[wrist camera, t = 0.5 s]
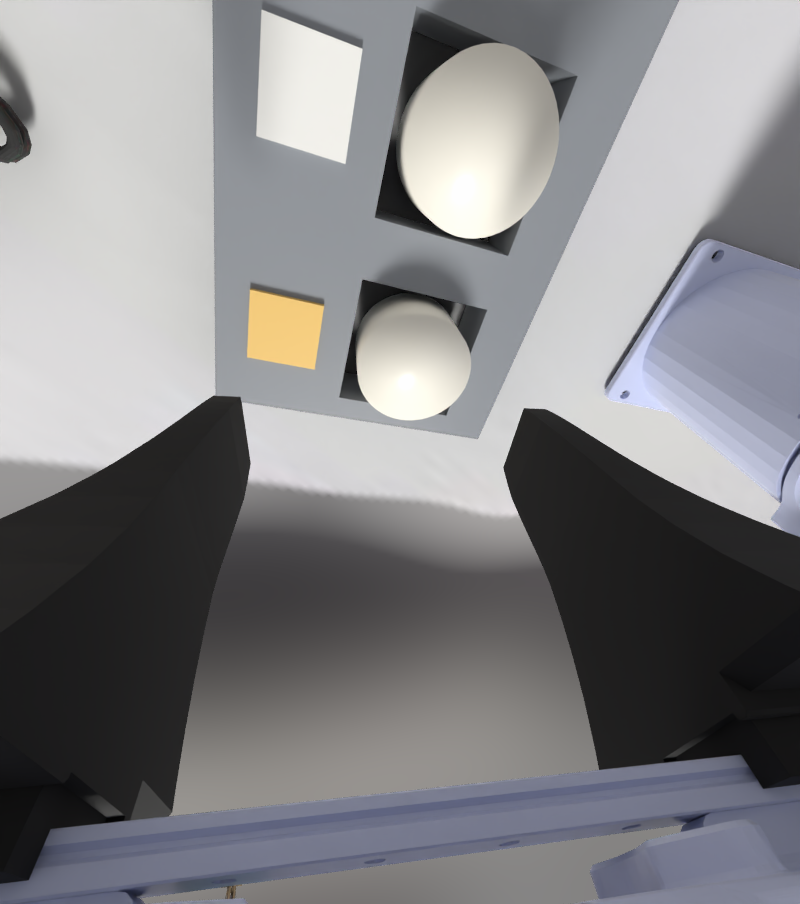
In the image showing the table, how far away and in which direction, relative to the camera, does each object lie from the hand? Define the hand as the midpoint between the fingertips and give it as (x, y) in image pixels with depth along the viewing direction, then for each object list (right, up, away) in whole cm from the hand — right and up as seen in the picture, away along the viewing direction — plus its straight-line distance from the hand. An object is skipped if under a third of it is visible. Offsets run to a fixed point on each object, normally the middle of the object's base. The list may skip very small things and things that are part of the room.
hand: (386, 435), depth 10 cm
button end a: (+1, +4, +7) cm, 8 cm away
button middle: (+2, +10, +3) cm, 10 cm away
